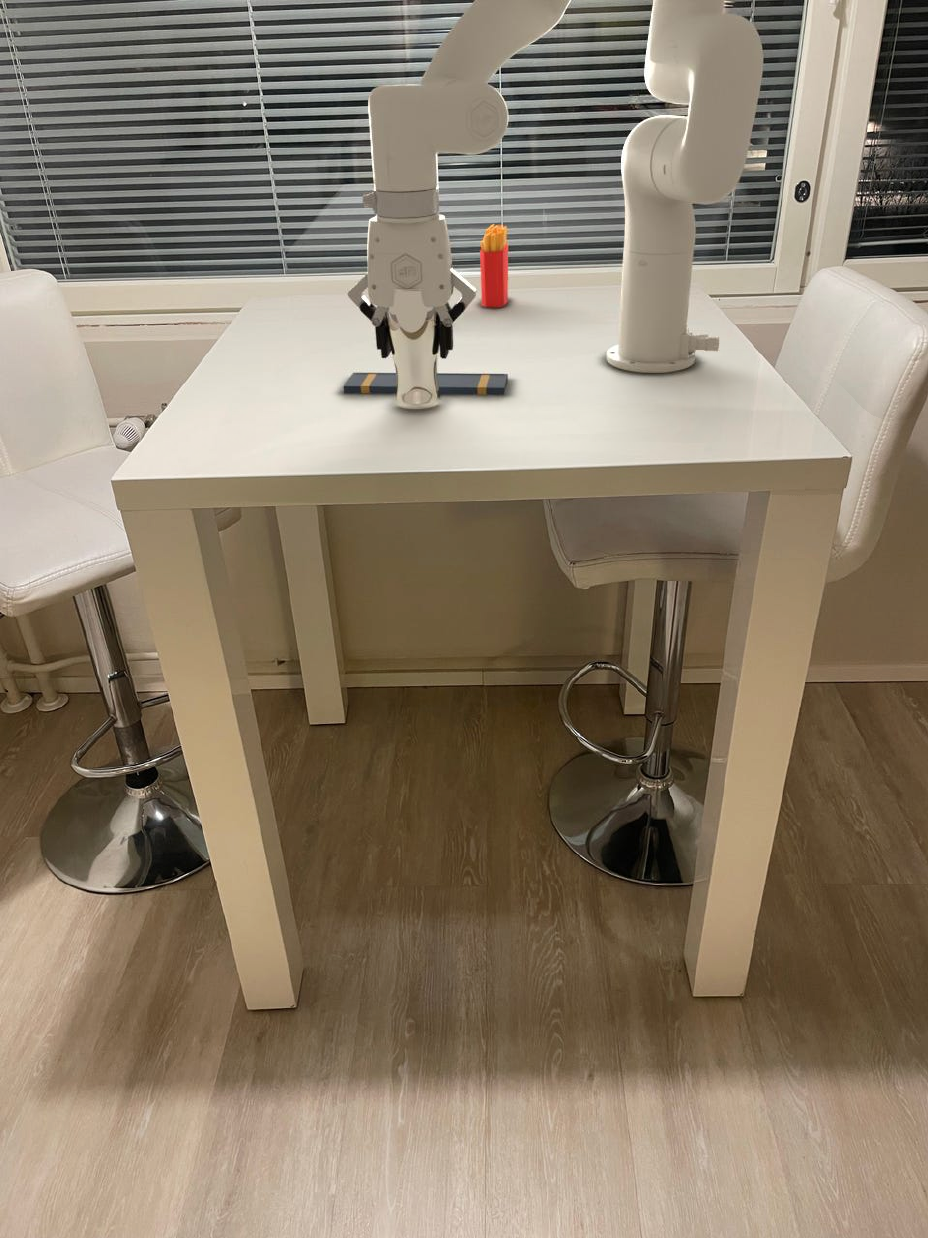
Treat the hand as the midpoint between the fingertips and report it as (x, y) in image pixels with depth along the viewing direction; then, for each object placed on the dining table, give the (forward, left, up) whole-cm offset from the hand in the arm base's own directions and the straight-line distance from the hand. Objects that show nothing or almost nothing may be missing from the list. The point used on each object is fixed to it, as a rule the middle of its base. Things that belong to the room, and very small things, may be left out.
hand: (415, 354), depth 121 cm
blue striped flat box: (0, -8, -7) cm, 10 cm away
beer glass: (0, 0, -6) cm, 6 cm away
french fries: (-5, -55, -7) cm, 56 cm away
